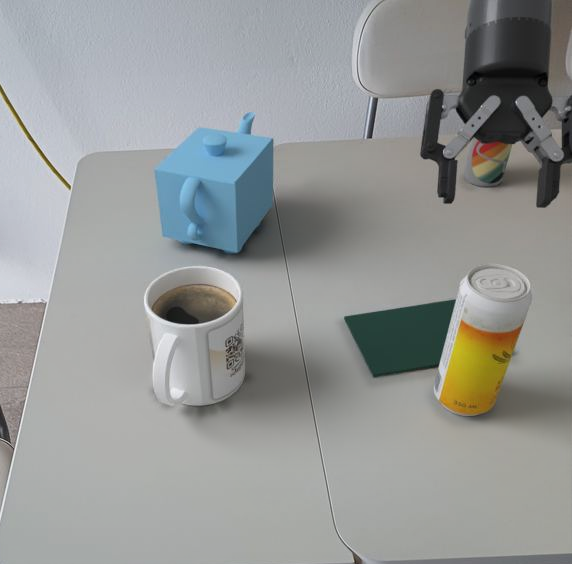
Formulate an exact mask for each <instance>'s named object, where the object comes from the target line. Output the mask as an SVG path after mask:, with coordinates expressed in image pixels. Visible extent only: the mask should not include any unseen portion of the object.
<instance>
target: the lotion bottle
mask: <svg viewBox="0 0 572 564" xmlns="http://www.w3.org/2000/svg"><path fill="white" fill-rule="evenodd" d="M469 146H470V147H469V151H468V155H467V159H466V164H465V168H464V173H463V174H464V179H465V181H467V183H469V184H471V185H473V186H478V187H482V188H483V187H484V188H487V187H495V186H498V185H500V184H501V183H502V181H503V179H504V176H505V172H506V169H507V165H508V162H509V158H510V155H511V151H512V148H513V144H504V143H501V142H494V143H490V144H482V143H481V141H479V140H477V139H475V138H473V139H472V140H471V142H470V145H469Z"/></svg>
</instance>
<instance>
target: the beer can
mask: <svg viewBox="0 0 572 564" xmlns="http://www.w3.org/2000/svg"><path fill="white" fill-rule="evenodd" d="M531 288H532V284H531V281H530V279H529V278H528V277H527V276H526V275H525V274H524V273H523V272H521V271H520V270H518V269H516V268H514V267H512V266H508V265H504V264H499V263H484V264H483V263H482V264H480V265H476V266H475V267H473V268H471V269H470V270H469V271H468V273H467V275H466V276H465V277H463V278H462V279H461V281H460V283H459V286H458V289H457V295H456V298H455V299H456V302H455V306H454V310H453V314H452V318H451V321H450V325H449V329H448V333H447V337H446V341H445V345H444V349H443V352H442V356H441V360H440V364H439V366H438V368H437V371H436V377H435V380H434V384H433V393H434V396H435V398H436V399H437V401H438V402H439V403H440V404H441V405H442V406H443V408H444V409H445V410H447V411H449V412H450V413H453V414H455V415H458V416H462V417H474V416H478V415H481V414H484V413H487V412H488V411H490V410H491V409H492V408H493V407H494V406H495V403H496V401H497V398H498V395H499V392H500V390H501V388H502V385H503V381H504V378H505V377H506V373H507V371H508V368H509V365H510V362H511V359H512V358H513V357H512V356H513V355H514V351H515V348H516V345H517V343H518V340H519V337H520V334H521V332H522V328H523V326H524V323H525V321H526V317H527V315H528V312H529V309H530V307H531V303H532V301H533V294H532V289H531Z"/></svg>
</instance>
